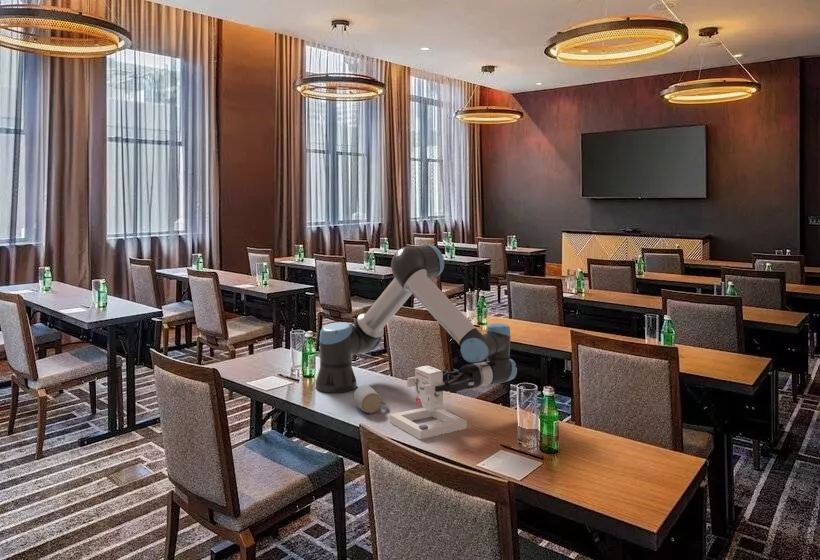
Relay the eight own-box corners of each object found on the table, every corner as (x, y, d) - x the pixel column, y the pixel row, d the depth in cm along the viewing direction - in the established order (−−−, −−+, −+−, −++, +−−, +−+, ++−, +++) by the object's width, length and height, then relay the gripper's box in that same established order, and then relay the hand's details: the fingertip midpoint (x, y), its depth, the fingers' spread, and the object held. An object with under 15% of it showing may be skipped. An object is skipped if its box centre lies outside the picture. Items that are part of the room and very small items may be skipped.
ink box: (414, 404, 192) (414, 367, 191) (427, 401, 195) (427, 364, 193) (430, 412, 185) (430, 373, 184) (443, 409, 188) (444, 370, 186)
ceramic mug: (362, 416, 199) (362, 392, 198) (352, 408, 206) (353, 386, 205) (392, 412, 203) (392, 389, 202) (381, 404, 211) (382, 382, 210)
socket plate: (389, 422, 193) (389, 411, 193) (434, 412, 202) (434, 403, 202) (420, 439, 179) (420, 428, 179) (466, 428, 188) (466, 418, 188)
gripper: (496, 395, 190) (436, 407, 178) (454, 379, 208) (397, 389, 196) (497, 371, 189) (437, 382, 177) (454, 357, 207) (397, 366, 195)
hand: (416, 386), depth 186 cm, fingers closed on ink box, 9 cm apart
